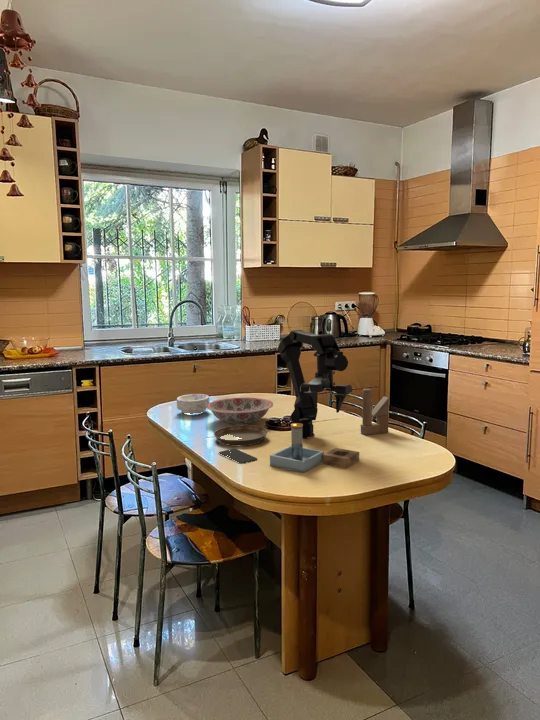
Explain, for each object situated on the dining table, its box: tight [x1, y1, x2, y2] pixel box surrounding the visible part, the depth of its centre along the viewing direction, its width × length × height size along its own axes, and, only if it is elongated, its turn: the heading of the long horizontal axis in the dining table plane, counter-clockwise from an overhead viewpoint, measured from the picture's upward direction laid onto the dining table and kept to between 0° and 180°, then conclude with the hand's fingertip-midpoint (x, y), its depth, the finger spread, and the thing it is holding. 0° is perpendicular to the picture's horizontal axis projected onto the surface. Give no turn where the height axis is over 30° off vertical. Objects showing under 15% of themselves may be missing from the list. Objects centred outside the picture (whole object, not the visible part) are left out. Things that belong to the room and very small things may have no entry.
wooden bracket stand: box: [360, 388, 390, 436], centre depth 210 cm, size 4×11×18 cm, turn 111°
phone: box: [218, 448, 258, 464], centre depth 185 cm, size 7×1×15 cm
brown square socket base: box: [322, 447, 360, 469], centre depth 177 cm, size 9×9×3 cm
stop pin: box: [290, 422, 304, 461], centre depth 175 cm, size 4×4×12 cm
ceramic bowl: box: [206, 396, 274, 425], centre depth 232 cm, size 29×29×8 cm
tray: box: [269, 444, 325, 474], centre depth 176 cm, size 13×13×4 cm
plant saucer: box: [213, 424, 268, 446], centre depth 205 cm, size 21×21×3 cm
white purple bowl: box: [176, 393, 210, 414], centre depth 249 cm, size 15×15×8 cm
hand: (326, 411), depth 193 cm, fingers open, 9 cm apart
